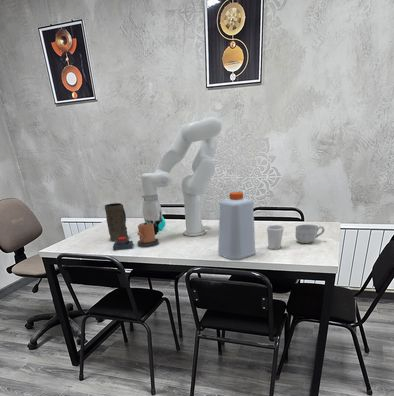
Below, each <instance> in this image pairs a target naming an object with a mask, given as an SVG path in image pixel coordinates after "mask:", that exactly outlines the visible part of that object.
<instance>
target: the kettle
mask: <svg viewBox="0 0 394 396" xmlns="http://www.w3.org/2000/svg"><path fill="white" fill-rule="evenodd" d="M154 226H155V224H152V223H145V222H142V223H139V224H138V225H137V228H138V232H137V236H138V237H139V240H140V242H142V243H150V242H153V241H155V238H156V235H157V234H158V233H155V230H154Z"/></svg>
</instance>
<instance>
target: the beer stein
mask: <svg viewBox="0 0 394 396" xmlns="http://www.w3.org/2000/svg"><path fill="white" fill-rule="evenodd" d="M104 212H105V216H106V218H105V219H106V224H107V229H108V230H107V231H108V234H109V240H110V241H111V242H116V240H118V238H119V237H126V239H129V235H128V227H127V214H126V210H125V208H124V204H122V203H120V202H114V203H108V204H105V205H104Z"/></svg>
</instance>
